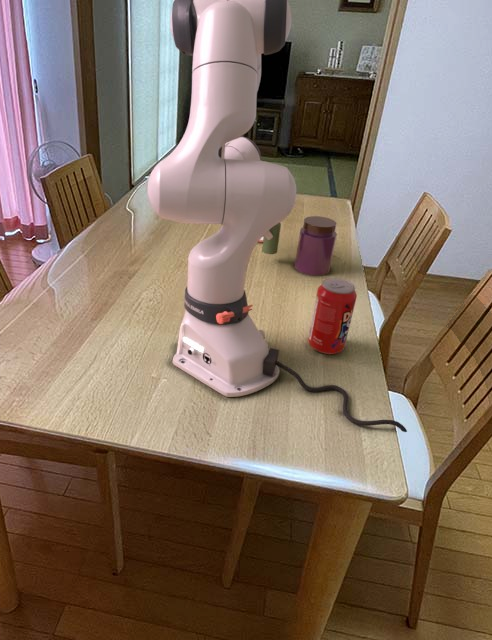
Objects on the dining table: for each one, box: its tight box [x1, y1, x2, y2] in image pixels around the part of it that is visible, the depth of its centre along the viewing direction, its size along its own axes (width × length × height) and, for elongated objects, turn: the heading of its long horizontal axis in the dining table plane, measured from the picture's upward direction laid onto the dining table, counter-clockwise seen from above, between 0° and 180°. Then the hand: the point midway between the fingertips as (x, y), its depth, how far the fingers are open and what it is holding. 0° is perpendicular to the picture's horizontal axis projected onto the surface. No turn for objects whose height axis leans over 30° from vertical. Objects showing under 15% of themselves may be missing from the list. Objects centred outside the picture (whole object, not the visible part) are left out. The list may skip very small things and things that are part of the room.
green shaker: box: [261, 222, 282, 255], centre depth 138 cm, size 4×4×10 cm
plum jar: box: [294, 215, 338, 276], centre depth 136 cm, size 10×10×14 cm
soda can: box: [307, 277, 358, 355], centre depth 101 cm, size 8×8×15 cm
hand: (273, 234), depth 138 cm, fingers closed on green shaker, 4 cm apart
